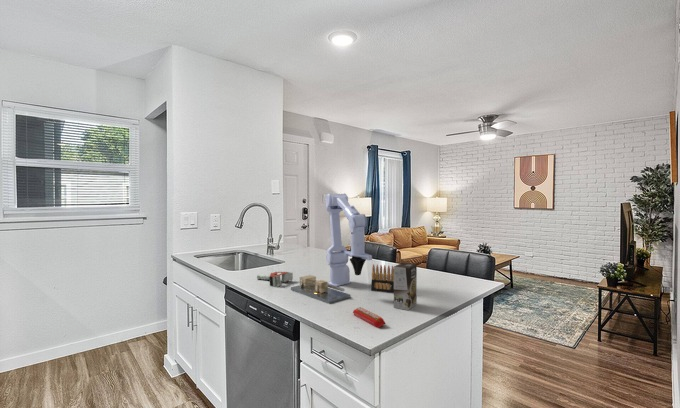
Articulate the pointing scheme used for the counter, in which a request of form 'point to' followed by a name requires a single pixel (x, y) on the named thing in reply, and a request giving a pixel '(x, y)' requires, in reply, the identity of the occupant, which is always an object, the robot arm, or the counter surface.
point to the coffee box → (405, 286)
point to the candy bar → (369, 317)
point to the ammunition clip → (382, 279)
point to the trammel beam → (310, 281)
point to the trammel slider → (321, 286)
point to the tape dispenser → (277, 278)
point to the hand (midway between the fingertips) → (357, 274)
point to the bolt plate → (322, 294)
